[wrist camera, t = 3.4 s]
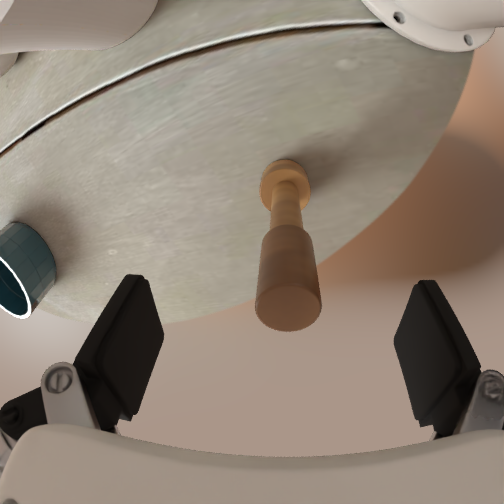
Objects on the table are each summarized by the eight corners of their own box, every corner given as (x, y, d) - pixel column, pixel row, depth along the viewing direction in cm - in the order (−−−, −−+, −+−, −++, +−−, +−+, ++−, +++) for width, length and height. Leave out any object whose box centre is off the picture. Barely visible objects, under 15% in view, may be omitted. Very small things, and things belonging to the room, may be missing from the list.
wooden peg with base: (308, 160, 19) (344, 271, 9) (306, 203, 21) (329, 342, 10) (260, 159, 19) (236, 269, 9) (261, 202, 21) (241, 340, 11)
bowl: (40, 218, 23) (6, 248, 19) (68, 291, 28) (44, 324, 24) (-5, 222, 24) (-34, 247, 19) (21, 284, 29) (-2, 312, 24)
